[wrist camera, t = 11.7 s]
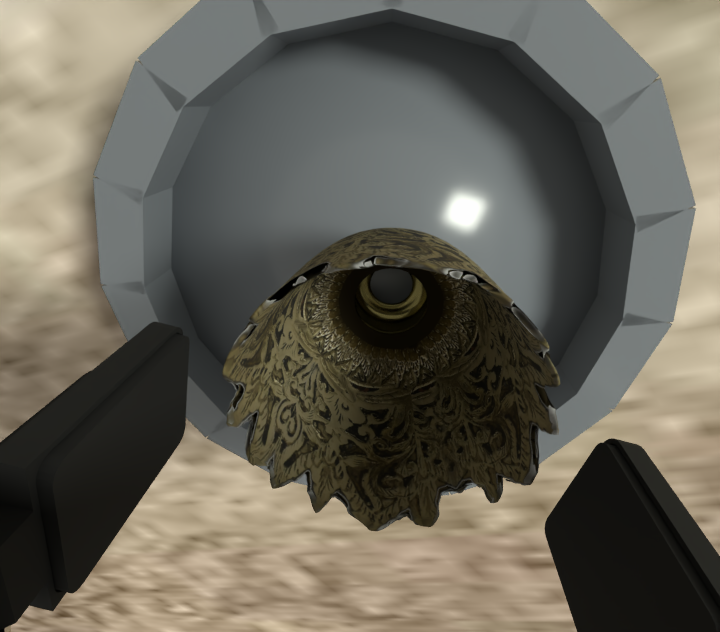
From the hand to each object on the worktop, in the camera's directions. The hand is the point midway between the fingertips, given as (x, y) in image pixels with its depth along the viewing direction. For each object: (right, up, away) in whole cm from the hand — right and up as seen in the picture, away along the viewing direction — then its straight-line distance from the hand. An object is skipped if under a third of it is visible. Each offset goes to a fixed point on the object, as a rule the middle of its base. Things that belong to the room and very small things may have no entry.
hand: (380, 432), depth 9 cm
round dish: (0, +4, +7) cm, 9 cm away
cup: (+1, +4, +7) cm, 8 cm away
